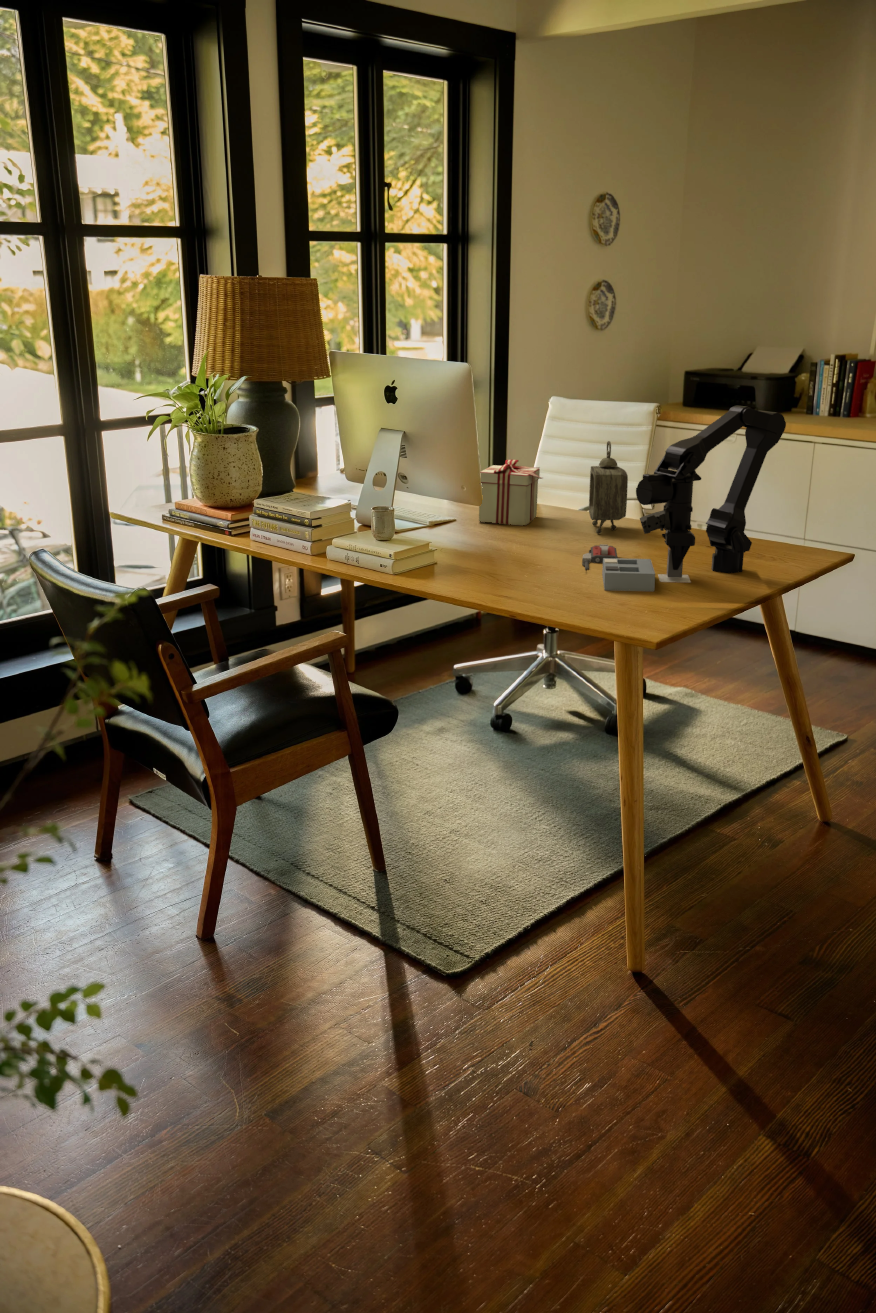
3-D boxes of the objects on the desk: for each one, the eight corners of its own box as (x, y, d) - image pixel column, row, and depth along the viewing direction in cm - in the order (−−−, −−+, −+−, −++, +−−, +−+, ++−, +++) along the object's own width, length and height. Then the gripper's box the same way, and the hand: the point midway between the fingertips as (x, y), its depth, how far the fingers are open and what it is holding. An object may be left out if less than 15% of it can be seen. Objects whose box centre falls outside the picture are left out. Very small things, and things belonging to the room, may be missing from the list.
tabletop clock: (588, 525, 314) (591, 437, 306) (619, 525, 314) (623, 437, 306) (592, 535, 301) (596, 444, 293) (625, 535, 300) (630, 444, 292)
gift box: (539, 526, 313) (541, 467, 307) (477, 524, 317) (477, 465, 311) (548, 515, 328) (549, 458, 323) (488, 513, 332) (488, 456, 327)
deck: (687, 578, 255) (687, 574, 255) (690, 586, 249) (691, 582, 248) (657, 578, 256) (657, 574, 256) (659, 585, 249) (660, 581, 249)
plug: (680, 574, 253) (682, 540, 250) (681, 577, 250) (684, 543, 247) (666, 573, 253) (668, 540, 251) (667, 577, 250) (669, 543, 248)
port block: (649, 579, 255) (650, 557, 253) (653, 595, 242) (655, 572, 240) (602, 578, 256) (603, 556, 254) (604, 594, 243) (605, 571, 241)
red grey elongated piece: (581, 555, 279) (582, 575, 261) (582, 539, 278) (583, 557, 259) (615, 556, 278) (619, 576, 260) (616, 539, 277) (620, 558, 258)
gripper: (640, 493, 256) (636, 557, 261) (646, 508, 238) (642, 577, 243) (688, 494, 255) (684, 558, 260) (697, 509, 237) (692, 578, 242)
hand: (674, 567), depth 251 cm, fingers closed on plug, 3 cm apart
